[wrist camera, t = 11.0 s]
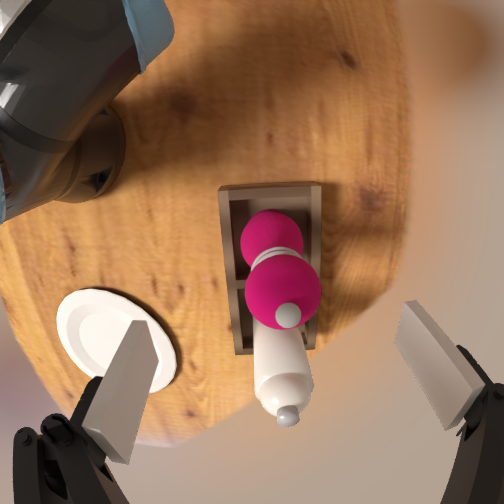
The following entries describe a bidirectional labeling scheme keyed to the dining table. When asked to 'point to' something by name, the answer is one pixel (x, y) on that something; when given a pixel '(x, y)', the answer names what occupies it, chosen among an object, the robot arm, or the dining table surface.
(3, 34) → the robot arm
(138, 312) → the plate
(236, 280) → the wooden compartment tray
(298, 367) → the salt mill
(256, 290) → the pepper mill
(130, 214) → the dining table surface
